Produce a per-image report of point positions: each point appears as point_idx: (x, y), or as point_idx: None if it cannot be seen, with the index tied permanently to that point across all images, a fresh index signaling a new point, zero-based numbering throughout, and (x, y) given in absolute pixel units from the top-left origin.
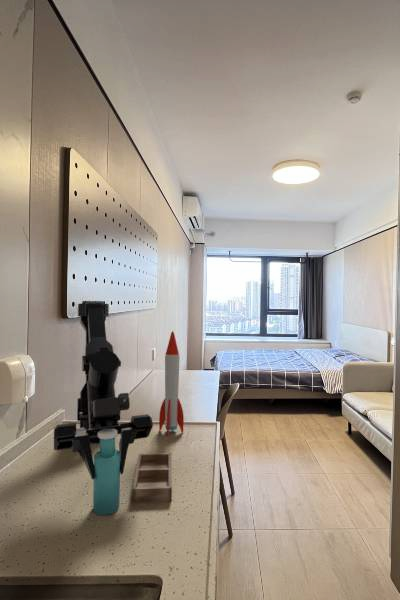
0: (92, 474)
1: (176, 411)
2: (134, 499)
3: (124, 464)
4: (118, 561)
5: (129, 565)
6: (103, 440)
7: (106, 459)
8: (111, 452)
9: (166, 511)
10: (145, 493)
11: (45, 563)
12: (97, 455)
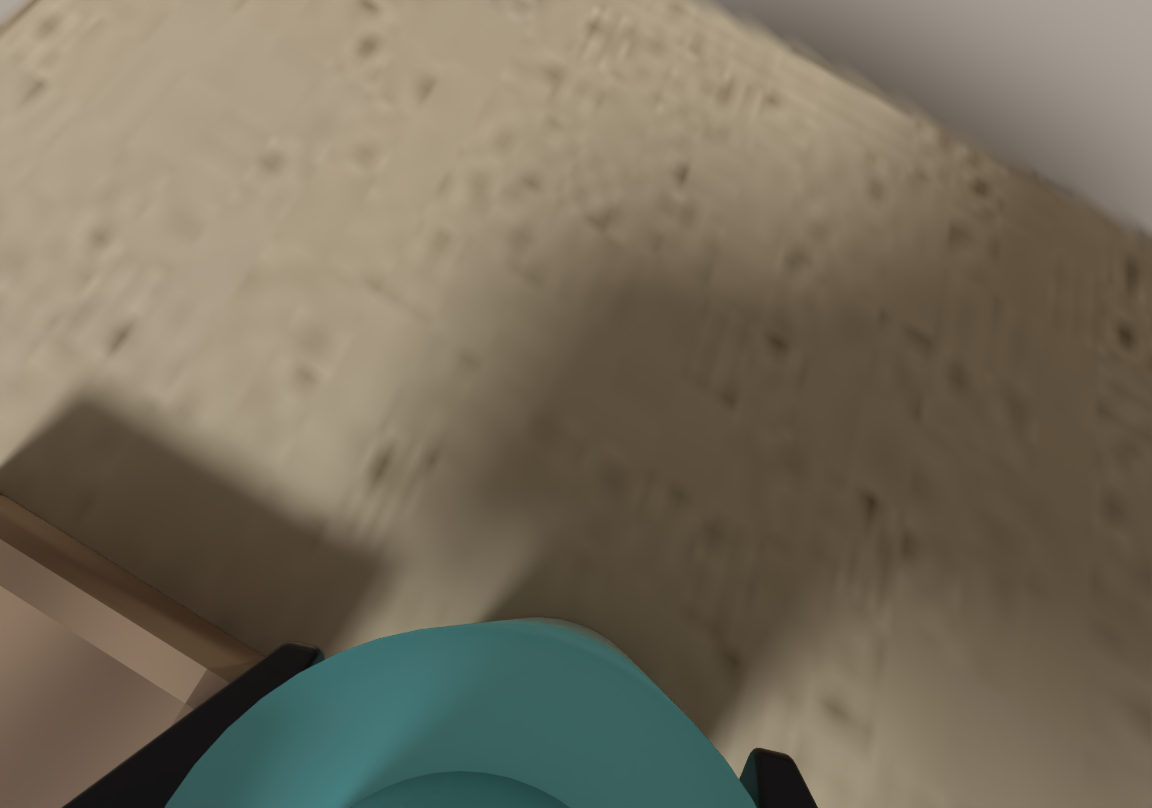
0: (794, 786)
1: None
2: None
3: (199, 705)
4: (674, 94)
5: (626, 32)
6: None
7: (571, 708)
8: (391, 803)
9: (114, 376)
10: (140, 605)
11: (1118, 326)
12: None
